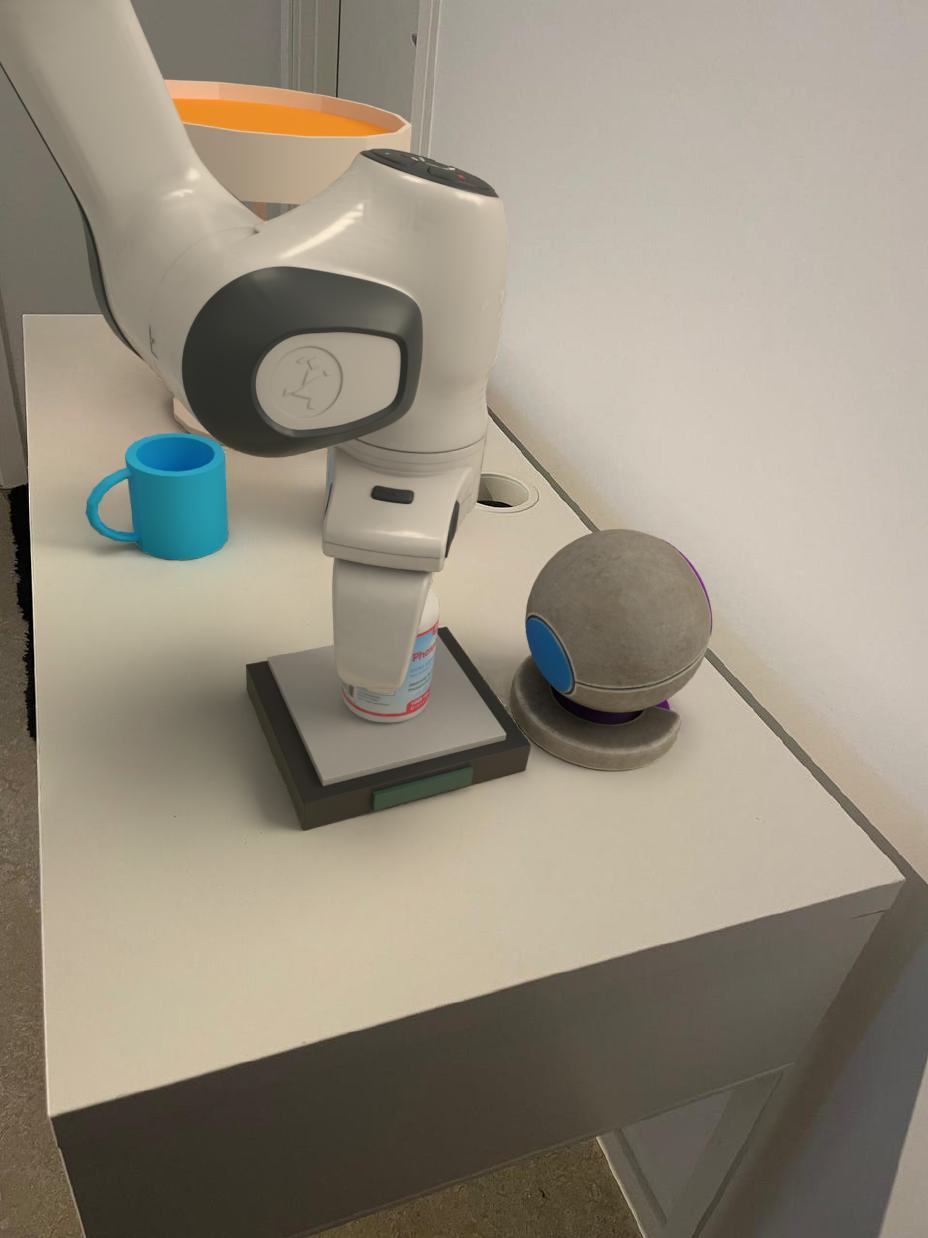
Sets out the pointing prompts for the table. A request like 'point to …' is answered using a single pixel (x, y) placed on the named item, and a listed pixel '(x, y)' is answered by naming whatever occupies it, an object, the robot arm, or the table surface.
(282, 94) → the desk lamp
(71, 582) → the table surface
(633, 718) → the webcam
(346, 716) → the scale
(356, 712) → the pill bottle
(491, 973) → the table surface
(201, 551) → the mug
